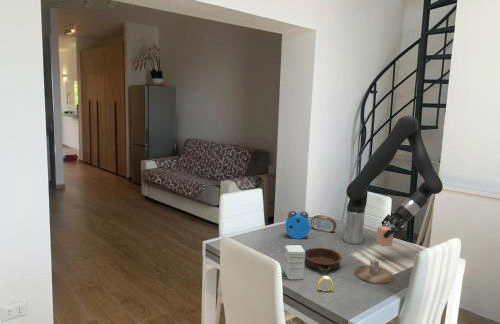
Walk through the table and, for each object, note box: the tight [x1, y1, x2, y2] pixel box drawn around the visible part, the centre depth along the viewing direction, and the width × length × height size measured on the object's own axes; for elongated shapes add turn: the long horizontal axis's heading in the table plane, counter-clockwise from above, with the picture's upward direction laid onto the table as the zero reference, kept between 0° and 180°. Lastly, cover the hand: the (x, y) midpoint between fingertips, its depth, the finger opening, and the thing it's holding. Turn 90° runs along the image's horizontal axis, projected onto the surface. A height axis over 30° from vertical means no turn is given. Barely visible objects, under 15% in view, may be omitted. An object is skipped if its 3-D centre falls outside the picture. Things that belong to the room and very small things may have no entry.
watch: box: [317, 275, 334, 291], centre depth 151 cm, size 6×3×6 cm, turn 89°
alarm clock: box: [285, 210, 311, 240], centre depth 209 cm, size 13×6×15 cm, turn 85°
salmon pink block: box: [376, 225, 394, 247], centre depth 181 cm, size 5×5×8 cm
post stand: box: [354, 258, 394, 285], centre depth 165 cm, size 16×16×7 cm
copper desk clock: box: [310, 215, 337, 233], centre depth 221 cm, size 15×3×8 cm, turn 58°
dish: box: [304, 247, 343, 274], centre depth 175 cm, size 18×22×5 cm
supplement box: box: [283, 244, 306, 279], centre depth 163 cm, size 7×7×13 cm
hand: (381, 234), depth 181 cm, fingers closed on salmon pink block, 5 cm apart
